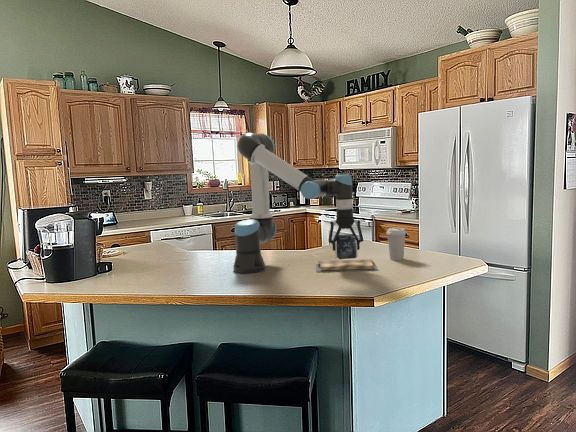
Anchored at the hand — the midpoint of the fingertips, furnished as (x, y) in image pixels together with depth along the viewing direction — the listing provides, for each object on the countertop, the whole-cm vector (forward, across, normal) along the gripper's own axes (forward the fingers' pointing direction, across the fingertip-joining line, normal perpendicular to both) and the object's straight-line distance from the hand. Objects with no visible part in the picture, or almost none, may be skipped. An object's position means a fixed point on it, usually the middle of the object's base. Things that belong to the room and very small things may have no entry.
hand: (346, 257), depth 203 cm
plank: (+5, 0, 0) cm, 5 cm away
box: (+1, 0, 0) cm, 1 cm away
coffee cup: (+6, +26, +17) cm, 32 cm away
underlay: (+5, 0, +3) cm, 6 cm away
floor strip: (+5, 0, +7) cm, 9 cm away
